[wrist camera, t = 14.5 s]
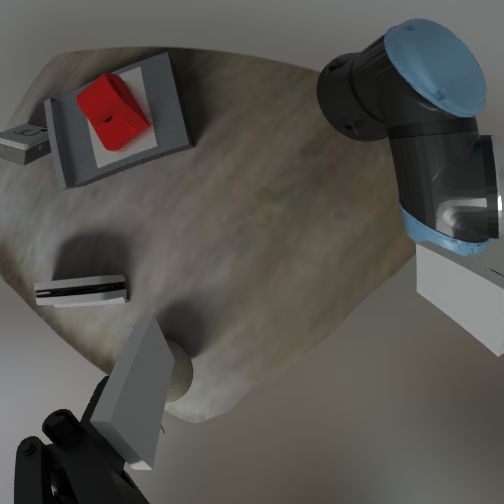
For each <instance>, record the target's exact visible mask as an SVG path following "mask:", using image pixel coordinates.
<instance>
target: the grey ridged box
mask: <svg viewBox="0 0 504 504" xmlns="http://www.w3.org/2000/svg"><path fill="white" fill-rule="evenodd" d="M112 74H116V75H118V76H120V77H121V78H122V80H123V81H124V83H125V85H126V86H127V88H128V89H129V90H130V92H131V93H132V95H133V96H134V98H135V100H136V101H137V103H138V105H139V106H140V108H141V109H142V111H143V113H144V116H145V117H146V119H147V120H148V122H149V124H150V125H151V126H150V127H149V128H147V129H146V130H145V131H143V132H142V133H140V134H139V135H138V136H136V137H135V138H134V139H132V140H131V141H130V142H128V143H127V144H126V145H124V146H123V147H122V148H121V149H119V150H117V151H108V150H106V149H105V147H104V146H103V144H102V143H101V141H100V139H99V137H98V136H97V134H96V132H95V130H94V128H93V127H92V125H91V123H90V121H89V119H88V118H87V117H86V116H85V115H84V113H83V112H82V111H81V109H80V107H79V105H78V103H77V100H76V96H77V95H78V94H79V93H80V92H82V91H83V90H84V89H85V88H86V87H87V86H89V85H90V84H91V83H92V82H94V81H95V80H94V81H92V82H90V83H88V84H86V85H84V86H82V87H80V88H78V89H76V90H74V91H72V92H70V93H69V94H67V95H65V96H63V97H61V98H59V99H58V100H56V99H53V98H49V99H47V100H46V101H44V105H45V114H46V121H47V128H48V135H49V141H50V147H51V152H52V157H53V162H54V167H55V171H56V176H57V180H58V184H59V188H60V190H65V189H71V188H76V187H81V186H86V185H88V184H91V183H93V182H95V181H98V180H100V179H103V178H105V177H108V176H110V175H113V174H116V173H118V172H121V171H124V170H126V169H129V168H132V167H135V166H137V165H140V164H143V163H146V162H149V161H152V160H155V159H158V158H161V157H164V156H167V155H170V154H174V153H177V152H180V151H184V150H187V149H190V148H194V143H193V139H192V135H191V131H190V127H189V123H188V119H187V115H186V111H185V107H184V102H183V98H182V94H181V90H180V85H179V81H178V77H177V72H176V68H175V65H174V63H173V61H172V59H171V57H170V55H169V53H168V52H166V53H163V54H160V55H156V56H154V57H151V58H148V59H145V60H142V61H139V62H137V63H134V64H131V65H129V66H126V67H124V68H121V69H119V70H117V71H114V72H112ZM112 117H113V115H112V116H110V117H109V119H108V122H110V121H111V119H112Z"/></svg>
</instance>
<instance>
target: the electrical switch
mask: <svg viewBox="0 0 504 504" xmlns="http://www.w3.org/2000/svg"><path fill="white" fill-rule="evenodd" d="M39 149H40V150H39ZM48 153H51V147H50V141H49V135H48V128H44V127H39V126H35V125H30V124H24V125H21V126H18V127H15V128H12V129H9V130H7V131H4V132H1V133H0V158H2V159H5V160H8V161H12V162H15V163H18V164H21V165H24V162H25V165H26V164H28V163H30V162H32V161H34V160H36V159H38V158H40V157H42V156H44V155H46V154H48Z"/></svg>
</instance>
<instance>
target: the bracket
mask: <svg viewBox="0 0 504 504" xmlns="http://www.w3.org/2000/svg"><path fill="white" fill-rule="evenodd" d="M76 100H77V103H78V105H79V107H80V109H81V111H82V112H83V113H84V115H85V116H86V117H87V118H88V119H89V121H90V123H91V125H92V127H93V128H94V130H95V132H96V134H97V136H98V137H99V139H100V141H101V143H102V144H103V146H104V147H105V149H106V150H108V151H117V150H119V149H121V148H122V147H123V146H124V145H126V144H127V143H128V142H130V141H131V140H132V139H134V138H135V137H136V136H138V135H139V134H140V133H142V132H143V131H145V130H146V129H147V128H149V127H150V126H151V125H150V124H149V122H148V120H147V119H146V117H145V116H144V113H143V111H142V109H141V108H140V106H139V105H138V103H137V101H136V100H135V98H134V96H133V95H132V93H131V92H130V90H129V89H128V88H127V86H126V85H125V83H124V81H123V80H122V78H121V77H120V76H118V75H116V74H112V73H107V72H105V73H104V74H102V75H101V76H100V77H99V78H97V79H96V80H95V81H94V82H92V83H91V84H90V85H89V86H87V87H86V88H85V89H84V90H83V91H82V92H80V93H79V94H78V95H77V96H76ZM112 115H113V117H112V119H111V121H110V122H108V119H109V117H110V116H112Z"/></svg>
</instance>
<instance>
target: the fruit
mask: <svg viewBox="0 0 504 504" xmlns="http://www.w3.org/2000/svg"><path fill="white" fill-rule="evenodd" d="M165 340H166V342H167V344H168V347H169V349H170V351H171V353H172V355H173V357H174V359H175V361H174V365H173V370H172V374H171V378H170V383H169V388H168V392H167V397H166V402H165V403H169V402H174V401H176V400H178V399H180V398H181V397H182V396H184V394H185V393H186V392H187V391H188V390H189V388H190V386H191V383H192V379H193V366H192V362H191V359H190V357H189V355H188V353H187V352H186V351H185V350H184V348H183V347H182V346H180V345H179V344H178V343H176V342H174V341H172V340H169V339H165ZM160 428H161V430H162V432H163V433H165V432H164V430H163V427H162V425H161V427H160Z"/></svg>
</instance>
